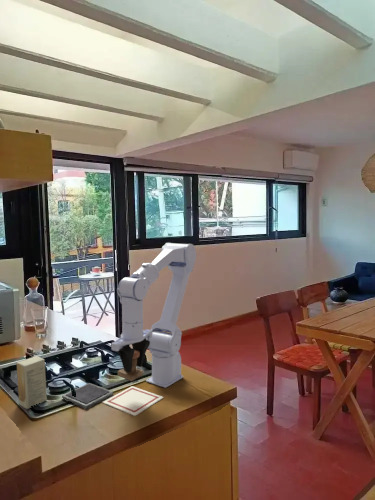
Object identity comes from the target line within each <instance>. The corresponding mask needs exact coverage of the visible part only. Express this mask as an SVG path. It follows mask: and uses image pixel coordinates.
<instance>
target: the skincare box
mask: <svg viewBox="0 0 375 500" xmlns="http://www.w3.org/2000/svg"><path fill="white" fill-rule="evenodd" d="M16 372H17V374H16V376H17V391H18V404H19V405H20V406H21V407H22V408H24V409H25V410H28V409H30V408H32V407H31V406H33V405H35V406H37V405H39V403H40V404H42V403H44V402H47V400H48V398H47V397H48V395H47V381H46V379H47V378H46V377H47V376H46V362H45V359H44V358H42V357H40V356H39V355H35V356H32V357H29V358H26V359H22V360H20V361H17V362H16ZM36 404H37V405H36ZM33 407H34V406H33Z"/></svg>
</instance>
